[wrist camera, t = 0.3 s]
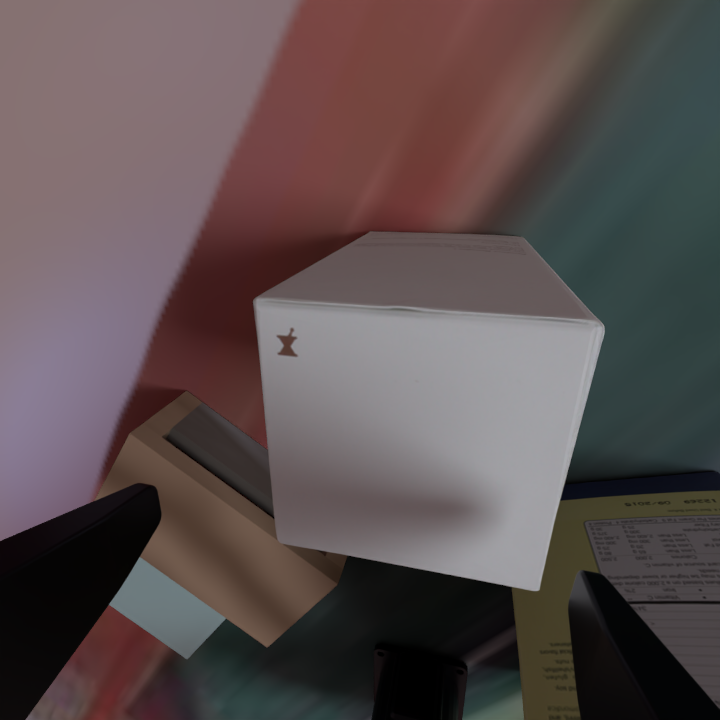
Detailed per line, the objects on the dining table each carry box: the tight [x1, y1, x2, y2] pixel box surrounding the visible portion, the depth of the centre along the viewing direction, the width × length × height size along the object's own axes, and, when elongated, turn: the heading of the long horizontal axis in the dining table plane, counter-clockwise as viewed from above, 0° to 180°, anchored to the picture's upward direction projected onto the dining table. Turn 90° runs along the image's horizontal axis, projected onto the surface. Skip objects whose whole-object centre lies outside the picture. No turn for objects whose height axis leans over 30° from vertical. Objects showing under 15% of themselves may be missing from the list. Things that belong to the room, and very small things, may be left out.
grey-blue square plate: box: [109, 557, 226, 659], centre depth 34 cm, size 10×9×2 cm
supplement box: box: [253, 231, 605, 591], centre depth 16 cm, size 7×7×13 cm
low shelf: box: [95, 391, 348, 647], centre depth 27 cm, size 8×13×5 cm, turn 55°
